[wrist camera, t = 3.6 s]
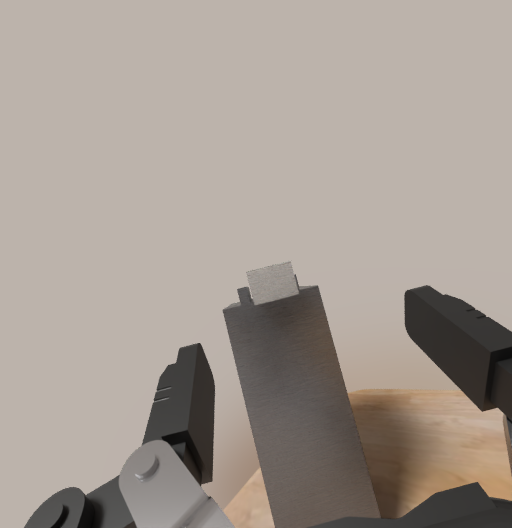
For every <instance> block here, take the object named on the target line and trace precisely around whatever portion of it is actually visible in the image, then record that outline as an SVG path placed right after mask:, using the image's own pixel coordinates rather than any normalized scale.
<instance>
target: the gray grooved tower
mask: <svg viewBox="0 0 512 528" xmlns="http://www.w3.org/2000/svg"><path fill="white" fill-rule="evenodd" d="M294 277H295V280H296V284H297V288H298V292H299V294H297V295H294V296H290V297H286V298H282V299H278V300H274V301H270V302H266V303H262V304H259V305H254V301H253V299H251V295H250V291H249V287H244V288H240V289H237V290H238V295H239V298H240V302H238V303H234V304H231V305H230V306H228V307H227V308H225V309H223V313H224V317H225V321H226V325H227V329H228V334H229V338H230V342H231V346H232V351H233V354H234V358H235V363H236V367H237V371H238V375H239V379H240V384H241V388H242V392H243V396H244V400H245V404H246V408H247V412H248V417H249V421H250V425H251V429H252V433H253V438H254V442H255V446H256V450H257V454H258V458H259V462H260V467H261V471H262V475H263V479H264V483H265V487H266V491H267V496H268V500H269V504H270V508H271V512H272V516H273V520H274V525H275V528H307V527H311V526H314V525H318V524H322V523H326V522H329V521H333V520H337V519H341V518H344V517H348V516H350V517H367V518H381V515H380V512H379V508H378V504H377V501H376V497H375V493H374V490H373V486H372V482H371V479H370V475H369V471H368V468H367V464H366V460H365V457H364V453H363V449H362V446H361V442H360V438H359V435H358V431H357V427H356V424H355V420H354V416H353V412H352V409H351V405H350V401H349V398H348V394H347V390H346V387H345V383H344V380H343V376H342V372H341V369H340V365H339V362H338V358H337V354H336V350H335V347H334V343H333V339H332V335H331V332H330V328H329V325H328V321H327V317H326V313H325V310H324V306H323V302H322V299H321V295H320V292H319V288H318V286H302V287H299V285H298V282H297V278H296V275H294Z"/></svg>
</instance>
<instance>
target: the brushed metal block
mask: <svg viewBox="0 0 512 528" xmlns="http://www.w3.org/2000/svg"><path fill="white" fill-rule="evenodd" d="M246 273H247V277H248V281H249V285H250V289H251V292H252V297H253V301H254V305H259V304H262V303H266V302H270V301H274V300H278V299H282V298H286V297H290V296H294V295H297V294H299V292H298V288H297V284H296V280H295V277H294V273H293V269H292V265H291V262H290V261H288V262H284V263H281V264H276V265H272V266H268V267H264V268H260V269H256V270H252V271H248V272H246Z"/></svg>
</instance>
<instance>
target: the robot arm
mask: <svg viewBox="0 0 512 528" xmlns="http://www.w3.org/2000/svg"><path fill="white" fill-rule="evenodd" d="M405 327H406V330H407V333H408V335H409V336H410V338H411V339H412V340H413V341H414V342H415V343H416V344H417V345H418V346H419V347H420V348H421V349H422V350H423V351H424V352H425V353H426V354H427V356H428V357H429V358H430V359H431V360H432V361H433V362H434V363H435V364H436V365H437V366H438V367H439V368H440V369H441V370H442V371H443V372H444V373H445V374H446V375H447V376H448V377H449V378H450V379H451V380H452V381H453V382H454V383H455V384H456V385H457V386H458V387H459V388H460V389H461V390H462V391H463V392H464V393H465V394H466V395H467V397H468V398H469V399H470V400H471V401H472V402H473V403H474V404H475V405H476V406H477V407H478V408H479V409H480V410H481V411H482V412H483V411H487V410H490V409H494V408H499V409H500V410H501V411H502V412H503V413H504V415H503V426H504V432H505V438H506V444H507V450H508V456H509V463H510V469H511V475H512V332H511V331H509V330H508V329H506V328H505V327H503V326H502V325H500V324H499V323H497V322H495V321H494V320H492V319H491V318H489V317H486V315H485V314H483V313H481V312H480V311H478V310H475V308H474V307H472V306H471V305H469V304H468V303H466V302H464V301H463V300H461V299H458V298H455V297H452V296H449V295H442V294H441V293H439V292H438V291H436V290H434V289H433V288H432V287H430V286H427V285H426V286H422V287H418V288H414V289H410V290H407V291H406V292H405ZM214 402H215V385H214V379H213V375H212V372H211V369H210V366H209V364H208V361H207V358H206V356H205V353H204V351H203V348H202V346H201V344H200V343H197V344H193V345H190V346H186V347H182V348H180V349H179V352H178V358H177V362H176V363H175V364H171V365H168V366H167V368H166V369H165V371H164V372H163V374H162V375H161V376H160V379H159V383H158V386H157V392H156V394H155V398H154V403H153V405H152V409H151V413H150V417H149V420H148V424H147V428H146V432H145V435H144V439H143V443H142V446H141V447H139V448H138V449H137V450H136V451H135V452H133V453H132V454H131V456H130V457H129V458H128V459H127V461H126V463H125V464H124V466H123V468H122V470H121V473H120V475H119V476H117V477H116V478H114V479H112V480H111V481H109V482H107V483H106V484H104V485H102V486H100V487H99V488H97V489H95V490H94V491H92V492H90V493H89V494H87V495H85V494H84V493H83V492H82V491H81V490H80V489H79V488H76V487H70V488H66V489H63V490H61V491H59V492H57V493H55V494H54V495H52V496H51V497H50V498H48V500H46V501H45V502H44V503H43V504H42V505H41V506H40V507H39V508H38V509H37V510H36V511H35V512H34V514H33V515H32V516H31V517H30V519H29V520H28V522H27V524H26V525H25V527H24V528H235V527H234V526H233V524H232V523H231V522H230V520H229V519H228V518H227V516H226V515H225V514H224V512H223V511H222V510H221V508H220V507H219V506H218V504H217V503H216V502H215V501H214V499H213V498H212V497H208V496H207V494H206V493H205V492H204V490H203V489H202V488H201V484H205V483H208V482H212V474H213V473H212V472H213V438H214ZM307 528H512V501H509V500H505V499H499V498H493V497H489V496H488V495H487V494H486V493H485V491H484V490H483V489H482V487H481V486H480V485H479V483H478V482H475V483H471V484H468V485H464V486H460V487H457V488H453V489H449V490H445V491H442V492H438V493H435V494H434V495H432V496H431V497H429V498H428V499H427V500H425V501H424V502H423V503H421V504H420V505H418V506H417V507H416V508H414V509H413V510H411V511H410V512H409V513H407V514H406V515H404V516H403V517H401V518H398V519H384V518H367V517H350V516H348V517H344V518H341V519H337V520H333V521H329V522H326V523H322V524H318V525H314V526H311V527H307Z"/></svg>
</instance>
